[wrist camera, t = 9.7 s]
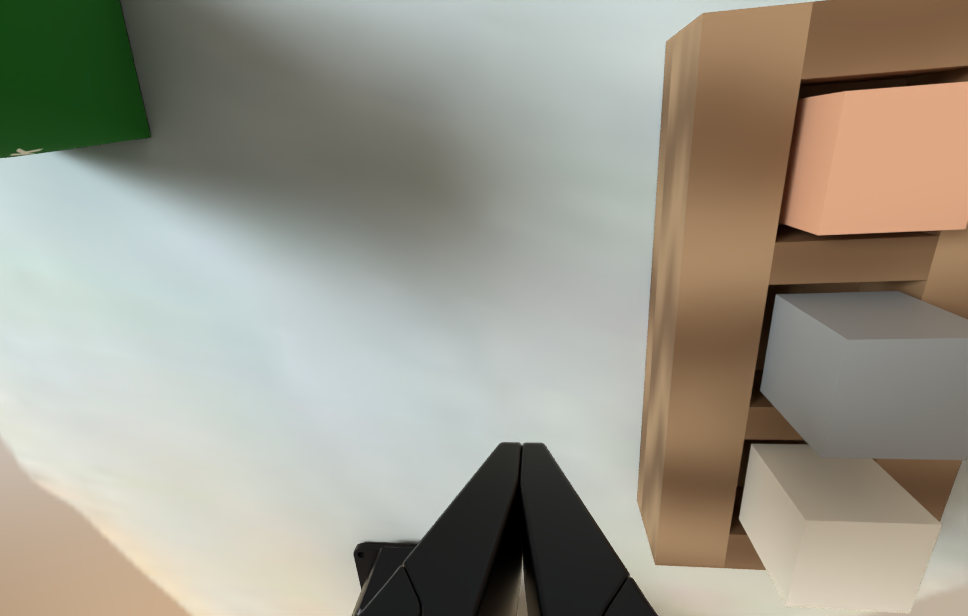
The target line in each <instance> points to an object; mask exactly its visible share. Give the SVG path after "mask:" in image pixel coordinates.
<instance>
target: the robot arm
mask: <svg viewBox="0 0 968 616" xmlns="http://www.w3.org/2000/svg"><path fill="white" fill-rule="evenodd" d="M354 558H355V563H356V567H357V572H358V576H359V581H360V585H361V593H360V596H359V598H358V601H357V603H356V606H355V608H354V611H353V614H352V616H516V614H517V606H518V599H519V591H520V584H521V574H522V561H523V570H524V583H525V593H526V602H527V612H528V616H658V615H657V613H656V612H655V611H654V609H653V608H652V606H651V605H650V603H649V602H648V601H647V599H646V598H645V596H644V595H643V593H642V592H641V590H640V588H639V587H638V585H637V584H636V582H635V581H634V579H633V578H631V577H630V574H629V572H628V571H627V569H626V568H625V566H624V564H623V563H622V561H621V560H620V558H619V557H618V555H617V554H616V552H615V551H614V549H613V548H612V546H611V545H610V543H609V542H608V540H607V539H606V537H605V535H604V534H603V532H602V531H601V529H600V528H599V526H598V525H597V523H596V522H595V520H594V519H593V517H592V516H591V514H590V513H589V511H588V510H587V508H586V507H585V505H584V503H583V502H582V500H581V499H580V497H579V496H578V494H577V493H576V491H575V490H574V488H573V487H572V485H571V484H570V482H569V481H568V479H567V478H566V476H565V475H564V473H563V471H562V470H561V468H560V467H559V465H558V464H557V462H556V461H555V459H554V458H553V456H552V455H551V453H550V452H549V450H548V449H547V447H546V446H545V444H543V443H524V444H523V445H521V444H520V443H518V442H502V443H500V444H499V445H498V446H497V447H496V448H495V450H494V451H493V452H492V453H491V455H490V456H489V457H488V458H487V460H486V461H485V462H484V463H483V465H482V466H481V467H480V468H479V469H478V471H477V472H476V473H475V474H474V476H473V477H472V478H471V479H470V481H469V482H468V483H467V484H466V485H465V487H464V488H463V489H462V490H461V492H460V493H459V494H458V495H457V497H456V498H455V499H454V500H453V501H452V503H451V504H450V505H449V506H448V508H447V509H446V510H445V511H444V513H443V514H442V515H441V516H440V517H439V519H438V520H437V521H436V522H435V524H434V525H433V526H432V527H431V529H430V530H429V531H428V532H427V533H426V535H425V536H424V537H423V538H422V540H421V541H420V542H419V543H418V545H417V546H416V545H392V544H369V543H360V544H358V545H357V546H356V548H355V550H354Z"/></svg>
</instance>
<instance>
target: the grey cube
mask: <svg viewBox="0 0 968 616" xmlns="http://www.w3.org/2000/svg"><path fill="white" fill-rule="evenodd" d="M760 391H761V392H762V393H763V395H764V396H765V397H766V398H767V399H768V400H769V401H770V402H771V403H772V405H773V406H774V407H775V408H776V409H777V410H778V411H779V412H780V413H781V415H782V416H783V417H784V418H785V419H786V420H787V421H788V422H789V423H790V424H791V426H792V427H793V428H794V429H795V430H796V431H797V432H798V433H799V434H800V436H801V437H802V438H803V439H804V440H805V441H806V442H807V443H808V444H809V446H810V447H811V448H812V449H813V450H814V451H815V452H816V453H817V454H818V456H819V457H820V458H865V459H930V460H966V459H967V457H968V319H965V318H963V317H960V316H958V315H956V314H953V313H951V312H948V311H946V310H943V309H941V308H939V307H936V306H934V305H931V304H929V303H926V302H924V301H921V300H919V299H917V298H914V297H912V296H909V295H907V294H904V293H902V292H899V291H878V292H841V293H804V294H776V297H775V303H774V309H773V315H772V321H771V327H770V333H769V339H768V345H767V351H766V357H765V364H764V370H763V376H762V382H761V388H760Z"/></svg>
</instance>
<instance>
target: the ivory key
mask: <svg viewBox="0 0 968 616" xmlns="http://www.w3.org/2000/svg"><path fill="white" fill-rule="evenodd" d="M739 520H740V522H741V524H742V526H743V528H744V529H745V531H746V533H747V535H748V537H749V539H750V541H751V542H752V544H753V546H754V548H755V550H756V552H757V554H758V555H759V557H760V559H761V561H762V563H763V565H764V567H765V568H766V570H767V572H768V574H769V576H770V578H771V580H772V581H773V583H774V585H775V587H776V589H777V591H778V593H779V594H780V596H781V598H782V600H783V602H784V604H785V606H786V607H802V608H820V609H839V610H857V611H875V612H894V613H910V611H911V609H912V606H913V603H914V601H915V598H916V595H917V592H918V590H919V587H920V584H921V582H922V579H923V576H924V573H925V571H926V568H927V565H928V562H929V560H930V557H931V554H932V552H933V549H934V546H935V543H936V541H937V538H938V535H939V533H940V530H941V527H942V524H941V523H940V522H939V521H938V520H937V519H936V518H935V517H934V516H933V515H932V514H931V513H929V512H928V511H927V510H926V509H925V508H924V507H923V506H922V505H921V504H920V503H919V502H918V501H917V500H916V499H915V498H913V497H912V496H911V495H910V494H909V493H908V492H907V491H906V490H905V489H904V488H903V487H902V486H901V485H900V484H899V483H898V482H896V481H895V480H894V479H893V478H892V477H891V476H890V475H889V474H888V473H887V472H886V471H885V470H884V469H883V468H882V467H881V466H879V465H878V464H877V463H876V462H875V461H874V460H873V459H865V458H820V457H819V456H818V454H817V453H816V452H815V451H814V450H813V449H812V448H811V447H810V446H809V444H751V448H750V454H749V460H748V466H747V473H746V479H745V485H744V491H743V497H742V503H741V509H740V515H739Z"/></svg>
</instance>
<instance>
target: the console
mask: <svg viewBox="0 0 968 616" xmlns="http://www.w3.org/2000/svg"><path fill="white" fill-rule="evenodd" d="M955 82H968V0H826V1H816V2H806V3H797V4H787V5H777V6H767V7H758V8H748V9H738V10H729V11H719V12H709V13H703V14H701V15H700V16H699V17H697V18H696V19H695V20H693V21H692V22H691V23H690V24H688V25H687V26H686V27H684V28H683V29H682V30H681V31H679V32H678V33H677V34H675V35H674V36H673V37H672V38H670V39H669V40H668V41H666V52H665V68H664V84H663V99H662V115H661V131H660V147H659V163H658V178H657V194H656V210H655V226H654V241H653V257H652V273H651V289H650V305H649V320H648V336H647V352H646V368H645V383H644V399H643V415H642V431H641V447H640V462H639V478H638V494H637V502H638V505H639V509H640V512H641V516H642V520H643V523H644V527H645V530H646V534H647V537H648V541H649V544H650V548H651V551H652V555H653V559H654V562H655V565H667V566H689V567H711V568H733V569H755V570H766V568H765V567H764V565H763V563H762V561H761V559H760V557H759V555H758V554H757V552H756V550H755V548H754V546H753V544H752V542H751V541H750V539H749V537H748V535H747V533H746V531H745V529H744V528H743V526H742V524H741V522H740V520H739V515H740V509H741V503H742V497H743V491H744V485H745V479H746V473H747V466H748V460H749V454H750V448H751V444H808V443H807V442H806V441H805V440H804V439H803V438H802V437H801V436H800V434H799V433H798V432H797V431H796V430H795V429H794V428H793V427H792V426H791V424H790V423H789V422H788V421H787V420H786V419H785V418H784V417H783V416H782V415H781V413H780V412H779V411H778V410H777V409H776V408H775V407H774V406H773V405H772V403H771V402H770V401H769V400H768V399H767V398H766V397H765V396H764V395H763V393H762V392H761V391H760V388H761V382H762V376H763V370H764V364H765V357H766V351H767V345H768V339H769V333H770V327H771V321H772V315H773V309H774V303H775V297H776V294H804V293H841V292H878V291H899V292H902V293H904V294H907V295H909V296H912V297H914V298H917V299H919V300H921V301H924V302H926V303H929V304H931V305H934V306H936V307H939V308H941V309H943V310H946V311H948V312H951V313H953V314H956V315H958V316H960V317H963V318H965V319H968V222H967V225H966V229H958V230H935V231H911V232H887V233H863V234H840V235H815V234H812V233H809V232H806V231H803V230H800V229H797V228H794V227H791V226H788V225H785V224H782V223H779V222H778V221H779V215H780V209H781V202H782V196H783V190H784V183H785V177H786V171H787V164H788V158H789V152H790V145H791V139H792V133H793V126H794V120H795V114H796V107H797V101H798V99H801V98H807V97H813V96H819V95H825V94H832V93H838V92H844V91H854V90H867V89H879V88H892V87H905V86H917V85H930V84H943V83H955ZM873 460H874V461H875V462H876V463H877V464H878V465H879V466H881V467H882V468H883V469H884V470H885V471H886V472H887V473H888V474H889V475H890V476H891V477H892V478H893V479H894V480H895V481H896V482H898V483H899V484H900V485H901V486H902V487H903V488H904V489H905V490H906V491H907V492H908V493H909V494H910V495H911V496H912V497H913V498H915V499H916V500H917V501H918V502H919V503H920V504H921V505H922V506H923V507H924V508H925V509H926V510H927V511H928V512H929V513H931V514H932V515H933V516H934V517H935V518H936V519H937V520H938V521H939V522H940V520H941V517H942V514H943V511H944V509H945V506H946V503H947V500H948V498H949V495H950V492H951V489H952V487H953V484H954V481H955V478H956V476H957V473H958V470H959V467H960V465H961V462H962V460H930V459H873Z"/></svg>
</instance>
